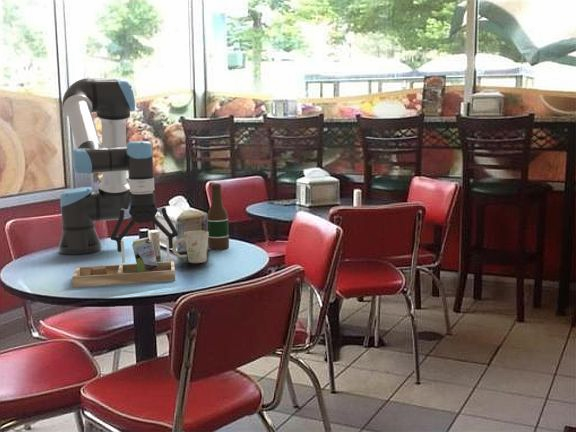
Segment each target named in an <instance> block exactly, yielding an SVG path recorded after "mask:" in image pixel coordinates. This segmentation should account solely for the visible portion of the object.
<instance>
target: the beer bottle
mask: <svg viewBox="0 0 576 432" xmlns="http://www.w3.org/2000/svg"><path fill="white" fill-rule="evenodd" d="M210 187H211V204H210V207H209V209H208V211H207V214H206V225H207V228H206V229H207V231H208V233H209V234H208V246H207V248H208V249H210V250H212V251H221V250H226V249H228V248H229V247H230V233H229V230H230V229H229V215H228V211H227V209H226V208H225V206H224V205H223V198H222V197H223V196H222V189H221V188H222V184H221V183H212V184H211V185H210Z"/></svg>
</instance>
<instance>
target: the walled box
mask: <svg viewBox="0 0 576 432" xmlns="http://www.w3.org/2000/svg"><path fill="white" fill-rule="evenodd" d="M94 266H95V265H94ZM94 266H90V265H89V266H77V267H76V269H75V271H74V272H73V274H72V277H71V282H72V288H81V287H82V288H84V287H85V288H86V287H97V286H99V287H100V286H113V285H115V286H116V285H127V284H129V285H130V284H143V283H144V284H145V283H158V282H159V283H160V282H171V281H172V282H173V281H176V270H175V267H176V266H175V261H174V260H171V261H170V260H168V261H157V266H158V270H159V271H151V272H138V267H137V263H122V264H121V263H120V264H110V265H109V264H108V265H107V264H106V265H103V266H104V267H106V269H107V274H105V275H90V267H94Z"/></svg>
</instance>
